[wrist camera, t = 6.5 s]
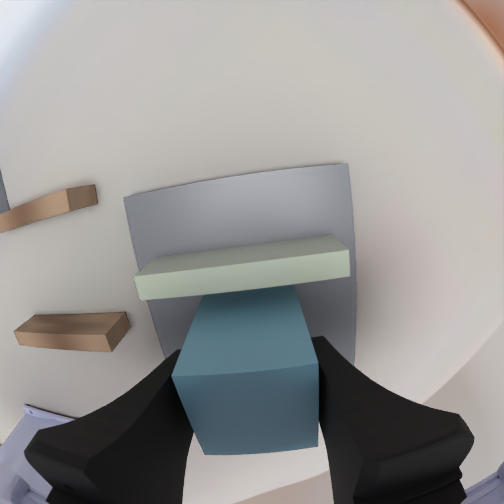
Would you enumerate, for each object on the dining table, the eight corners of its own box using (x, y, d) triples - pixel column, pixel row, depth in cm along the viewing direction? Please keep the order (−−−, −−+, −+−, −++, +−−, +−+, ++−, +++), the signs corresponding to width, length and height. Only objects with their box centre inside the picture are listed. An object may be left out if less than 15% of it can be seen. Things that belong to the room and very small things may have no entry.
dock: (193, 414, 16) (183, 452, 13) (130, 195, 13) (94, 204, 10) (347, 400, 16) (359, 438, 13) (343, 163, 12) (368, 161, 9)
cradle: (39, 327, 15) (19, 345, 13) (6, 215, 13) (-20, 222, 11) (130, 327, 15) (111, 351, 12) (94, 184, 13) (65, 188, 10)
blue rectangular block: (220, 362, 14) (204, 454, 8) (204, 292, 13) (171, 376, 7) (298, 353, 14) (317, 446, 8) (292, 281, 13) (318, 363, 7)
